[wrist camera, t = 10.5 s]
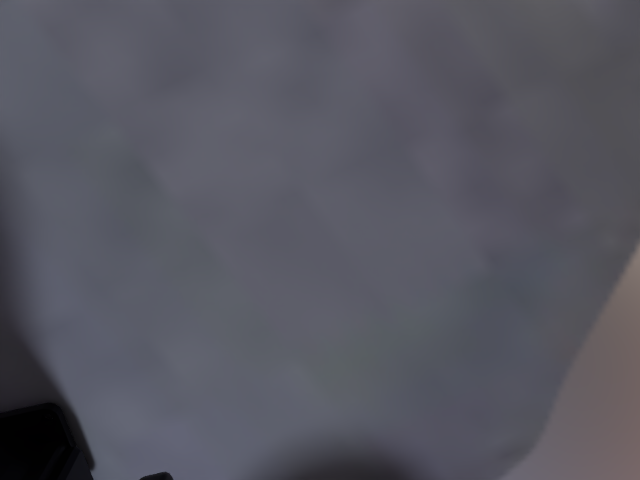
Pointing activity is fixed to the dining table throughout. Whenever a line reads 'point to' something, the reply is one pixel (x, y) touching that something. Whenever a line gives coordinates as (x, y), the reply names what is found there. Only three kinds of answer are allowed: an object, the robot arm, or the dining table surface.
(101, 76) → the dining table surface
